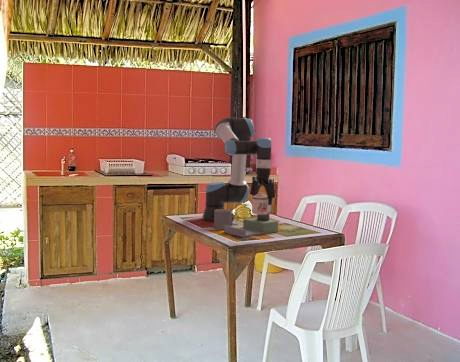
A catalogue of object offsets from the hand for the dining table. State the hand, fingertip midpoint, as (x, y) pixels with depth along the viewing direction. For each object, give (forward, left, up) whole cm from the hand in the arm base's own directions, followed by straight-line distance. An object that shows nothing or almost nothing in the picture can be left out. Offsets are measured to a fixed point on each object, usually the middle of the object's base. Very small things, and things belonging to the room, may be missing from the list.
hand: (261, 209), depth 295 cm
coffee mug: (-33, +4, -15) cm, 36 cm away
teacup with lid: (0, 0, -2) cm, 2 cm away
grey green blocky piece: (-14, +6, -15) cm, 21 cm away
